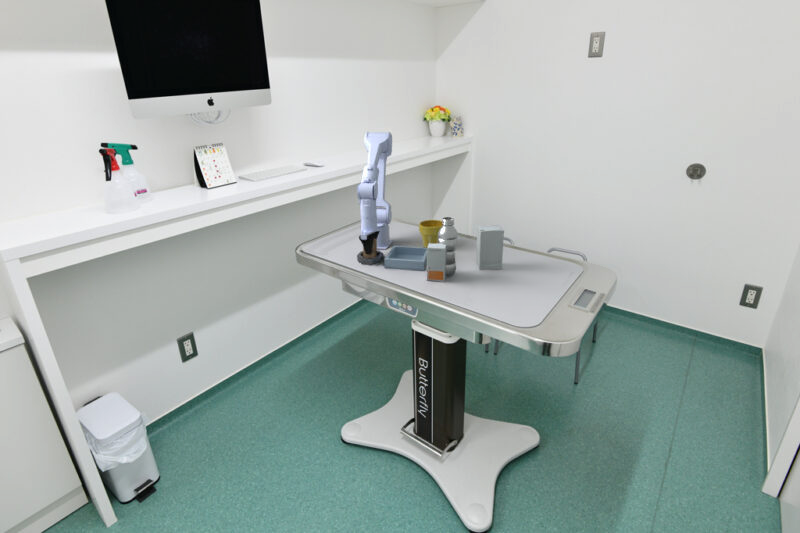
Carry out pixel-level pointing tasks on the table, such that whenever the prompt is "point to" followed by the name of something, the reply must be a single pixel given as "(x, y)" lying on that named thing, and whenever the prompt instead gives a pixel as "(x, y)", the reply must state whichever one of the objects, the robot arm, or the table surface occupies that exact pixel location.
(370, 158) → the robot arm
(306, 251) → the table surface
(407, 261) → the bin
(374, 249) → the peg
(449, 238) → the silver metal bottle
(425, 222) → the plant pot
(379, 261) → the collar
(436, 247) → the skincare box
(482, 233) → the skincare box
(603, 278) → the table surface
